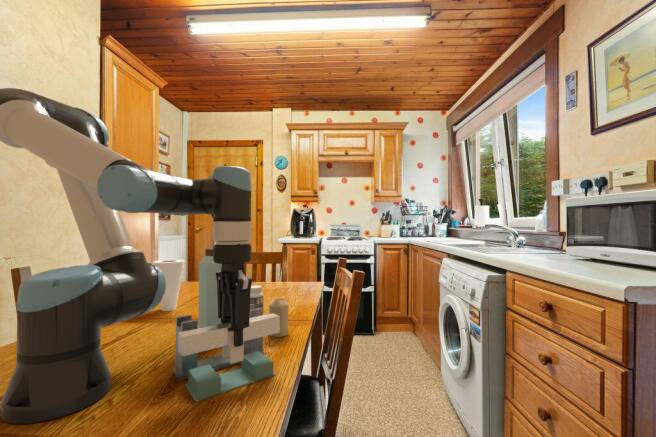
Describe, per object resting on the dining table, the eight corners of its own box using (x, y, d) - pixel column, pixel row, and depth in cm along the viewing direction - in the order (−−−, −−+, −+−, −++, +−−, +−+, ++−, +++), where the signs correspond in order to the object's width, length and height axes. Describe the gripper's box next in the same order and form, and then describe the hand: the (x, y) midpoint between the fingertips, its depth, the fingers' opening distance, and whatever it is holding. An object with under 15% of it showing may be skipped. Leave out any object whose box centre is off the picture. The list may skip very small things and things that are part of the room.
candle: (279, 338, 87) (279, 302, 87) (265, 335, 90) (265, 300, 90) (292, 332, 92) (292, 298, 92) (277, 329, 95) (277, 296, 95)
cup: (175, 313, 112) (176, 262, 112) (146, 313, 112) (146, 262, 112) (189, 305, 123) (189, 259, 123) (162, 305, 123) (162, 259, 123)
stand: (179, 381, 63) (179, 323, 63) (172, 371, 68) (173, 317, 68) (264, 356, 75) (264, 308, 75) (254, 349, 79) (254, 303, 80)
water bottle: (224, 345, 82) (224, 250, 82) (190, 343, 84) (190, 249, 84) (242, 333, 92) (242, 247, 92) (211, 330, 94) (211, 247, 94)
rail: (182, 356, 56) (182, 336, 57) (178, 351, 59) (178, 332, 59) (279, 332, 69) (279, 316, 69) (273, 328, 71) (273, 313, 71)
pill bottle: (266, 314, 111) (266, 286, 111) (254, 318, 106) (255, 288, 106) (255, 311, 114) (255, 284, 114) (243, 315, 109) (243, 287, 109)
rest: (195, 401, 56) (196, 384, 56) (185, 386, 61) (185, 370, 62) (275, 375, 66) (275, 360, 66) (260, 363, 71) (260, 350, 71)
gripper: (267, 243, 60) (268, 366, 60) (235, 240, 73) (235, 342, 72) (229, 245, 56) (229, 379, 55) (201, 242, 68) (201, 350, 68)
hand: (232, 358), depth 64 cm, fingers closed on rail, 3 cm apart
